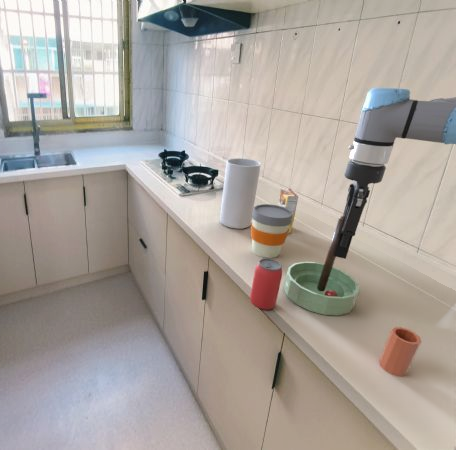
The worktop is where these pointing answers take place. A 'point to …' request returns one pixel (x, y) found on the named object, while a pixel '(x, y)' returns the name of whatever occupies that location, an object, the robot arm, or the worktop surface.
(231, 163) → the cylinder vase
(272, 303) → the beer can
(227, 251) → the worktop surface
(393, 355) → the crock
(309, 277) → the bowl
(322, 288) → the stirring stick
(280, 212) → the reusable coffee cup
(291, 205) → the candy box
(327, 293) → the bead
